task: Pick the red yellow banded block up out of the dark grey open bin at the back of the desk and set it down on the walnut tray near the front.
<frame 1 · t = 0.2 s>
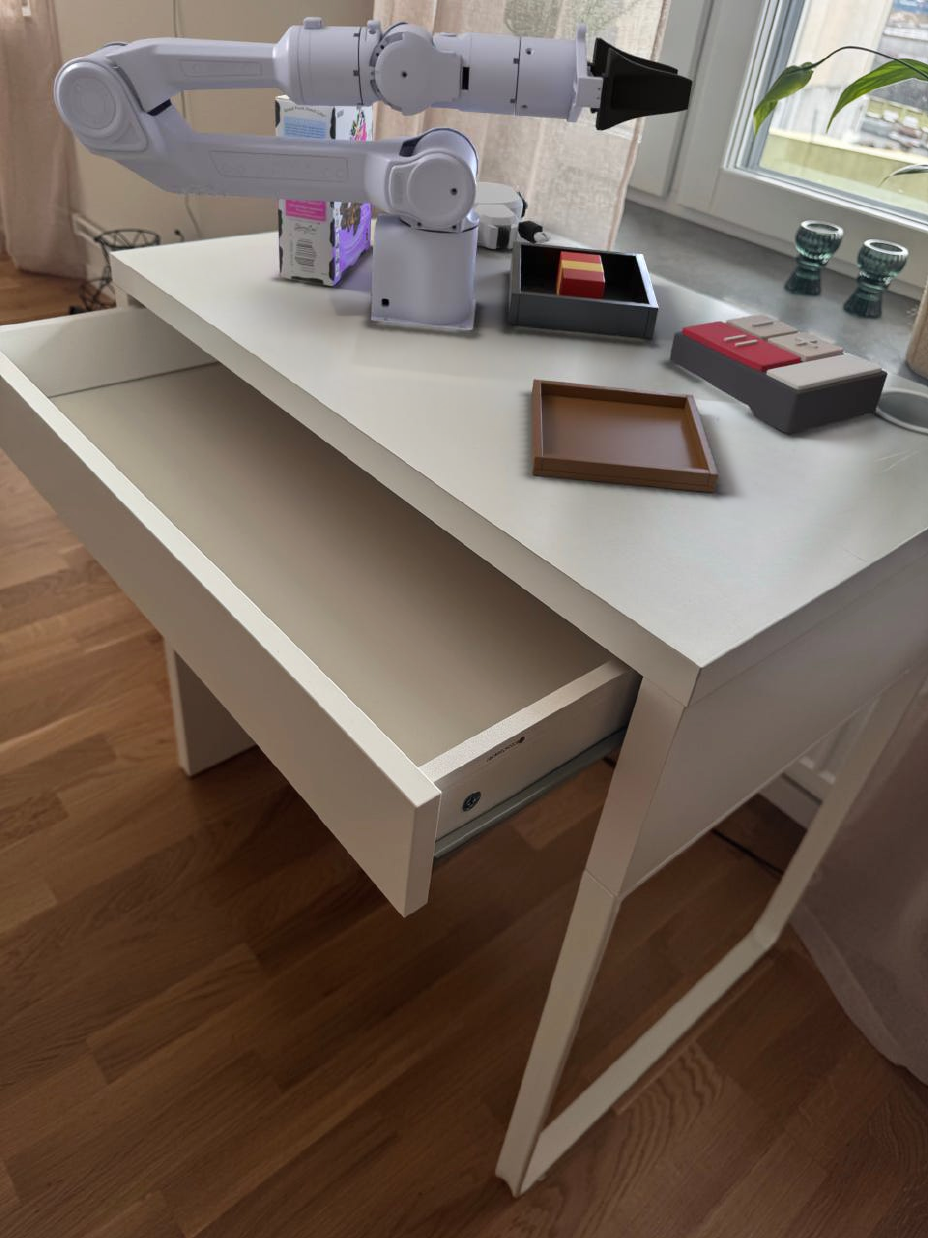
hand: (682, 88, 79), 21 cm above the table, tool horizontal, fingers open, 7 cm apart
robot toy: (483, 239, 113), on the table
candy box: (327, 264, 101), on the table
tray: (616, 441, 75), on the table
red yellow banded block: (576, 302, 96), point 1 cm above the table, touching dark grey open bin
calculator: (767, 390, 85), on the table
dark grey open bin: (575, 308, 97), on the table
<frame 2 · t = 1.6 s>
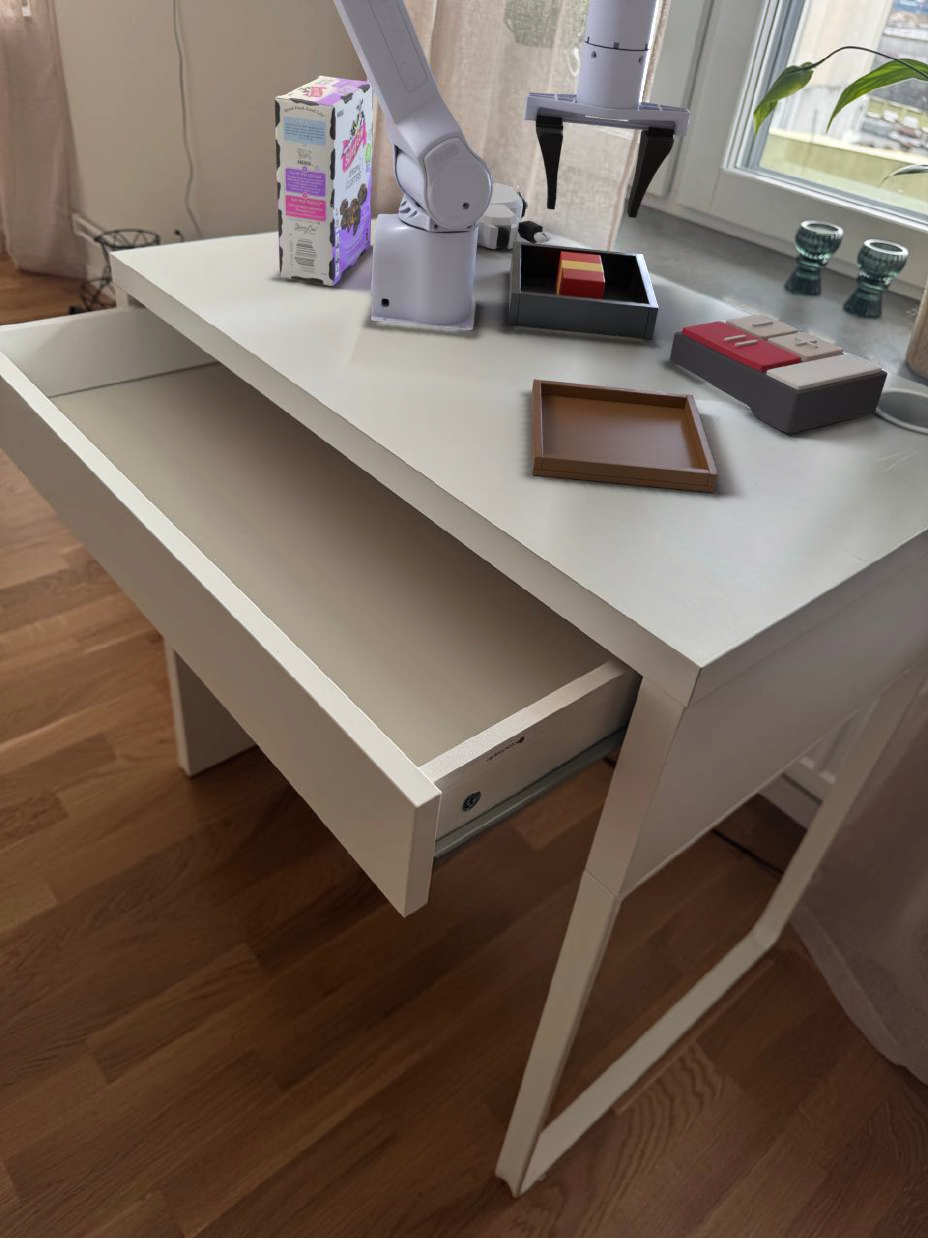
hand: (591, 210, 91), 9 cm above the table, tool pointing down, fingers open, 7 cm apart
nothing on the table moved.
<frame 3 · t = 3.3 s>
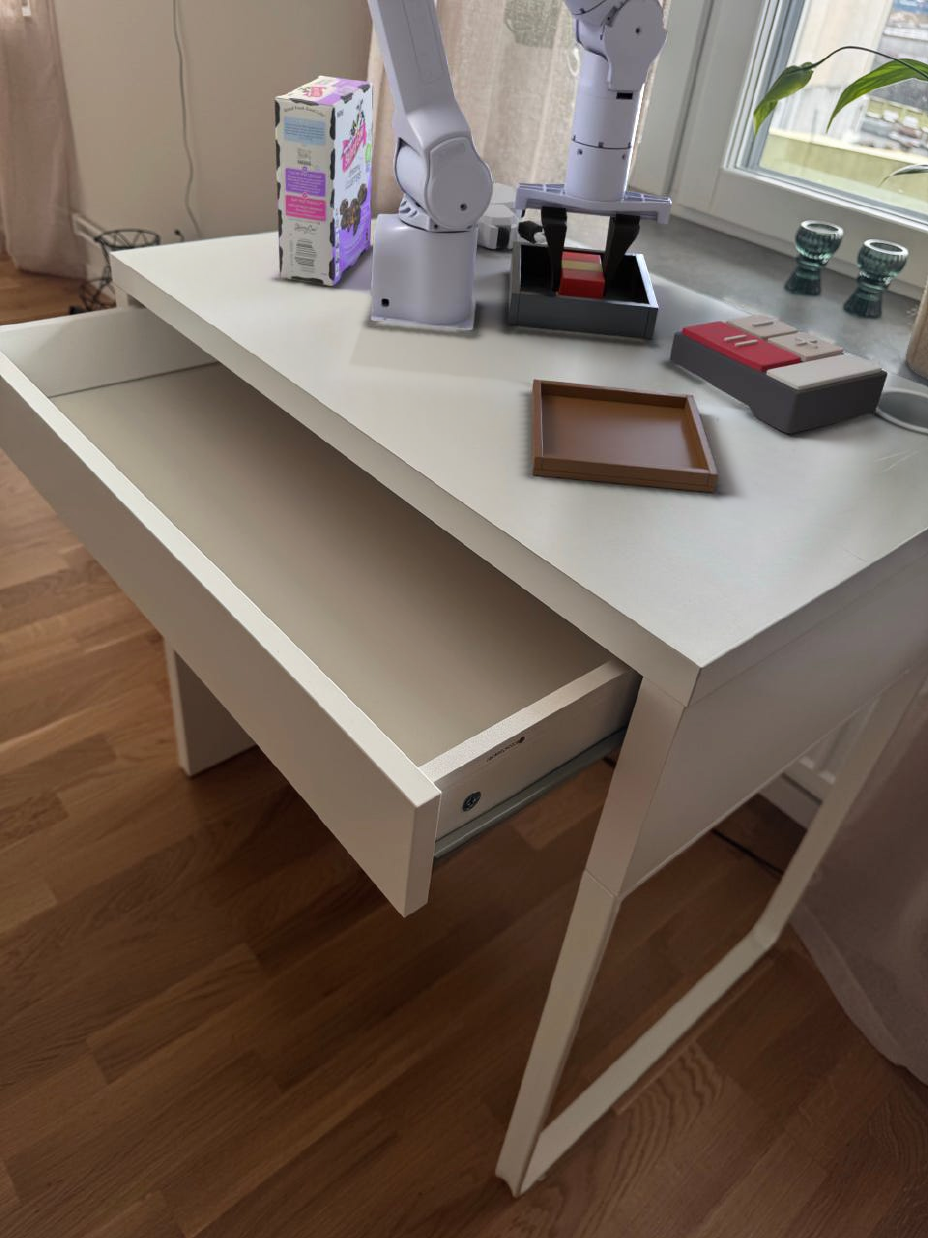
hand: (578, 290, 96), 2 cm above the table, tool pointing down, fingers closed on red yellow banded block, 4 cm apart
red yellow banded block: (576, 302, 96), point 1 cm above the table, touching dark grey open bin, gripper
everything else where it was.
when the fingers open (2 cm above the table, at t = 9.1 s): red yellow banded block stays where it is, resting on tray.
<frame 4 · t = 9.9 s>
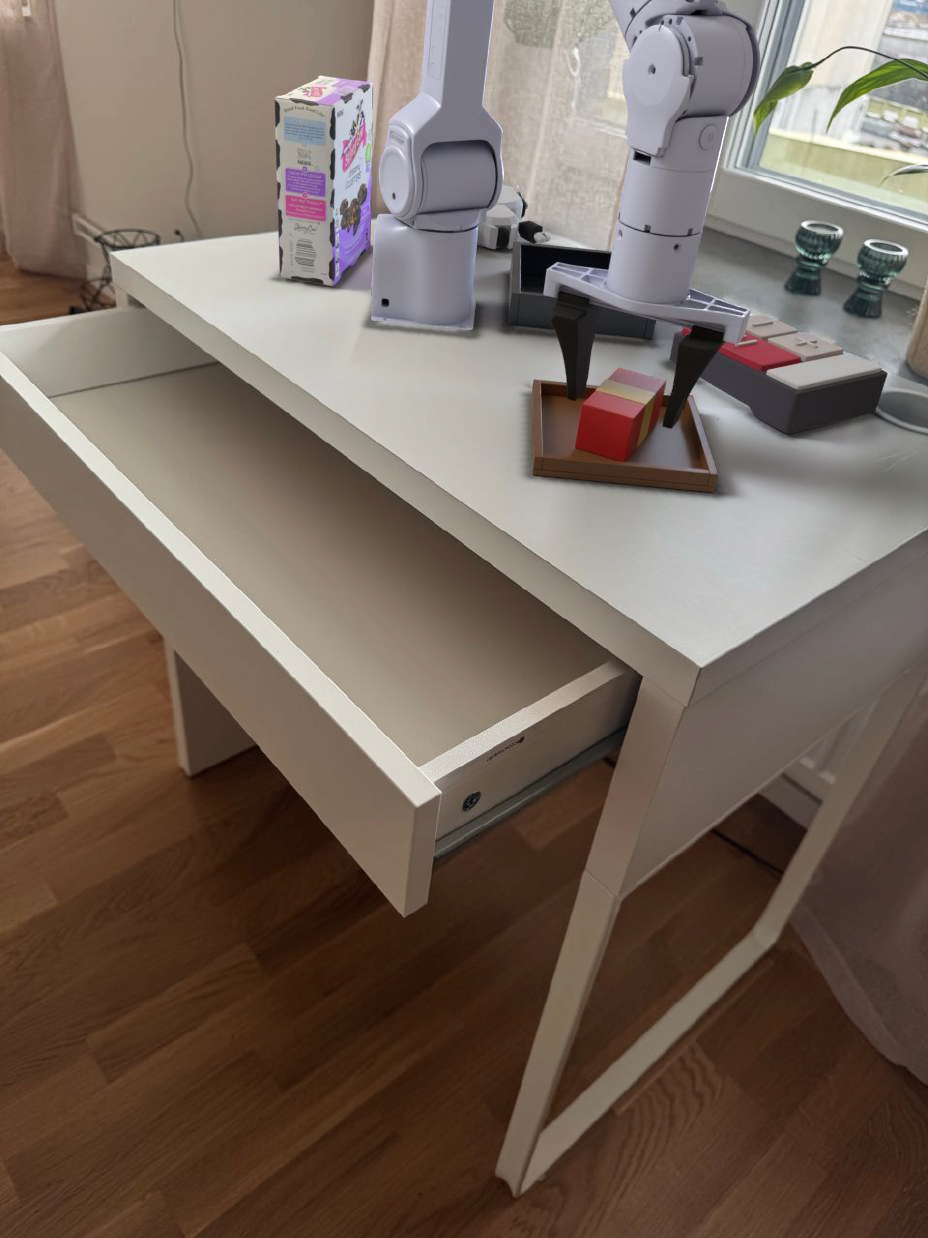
hand: (622, 408, 73), 3 cm above the table, tool pointing down, fingers open, 7 cm apart
red yellow banded block: (617, 434, 75), point 1 cm above the table, touching tray
everything else where it was.
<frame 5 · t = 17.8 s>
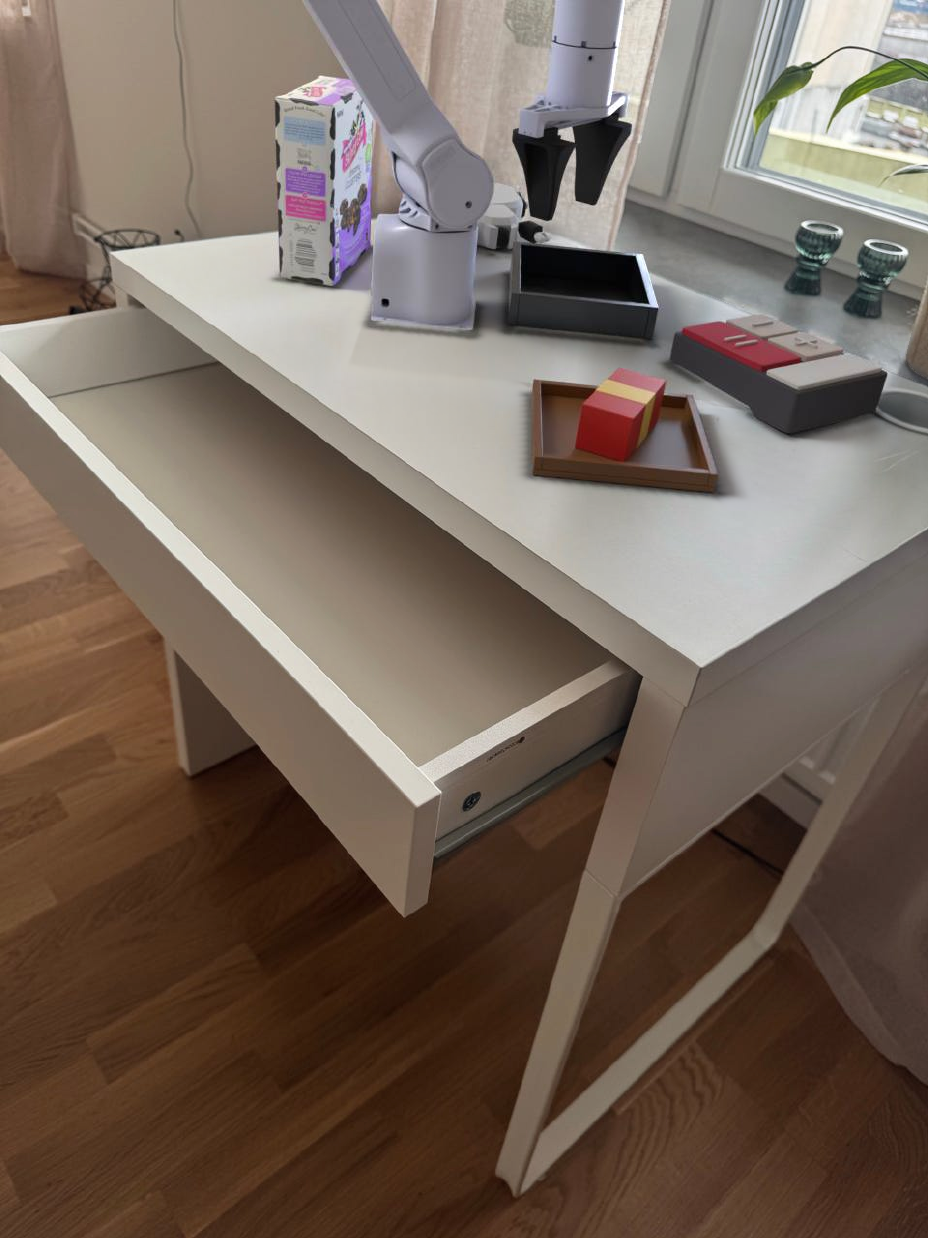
hand: (563, 210, 90), 9 cm above the table, tool pointing down, fingers open, 7 cm apart
nothing on the table moved.
at the end: red yellow banded block inside the target area in the tray (0.0 cm from its centre), point 0.5 cm above the tray's base; red yellow banded block touching tray; the gripper is holding nothing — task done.
